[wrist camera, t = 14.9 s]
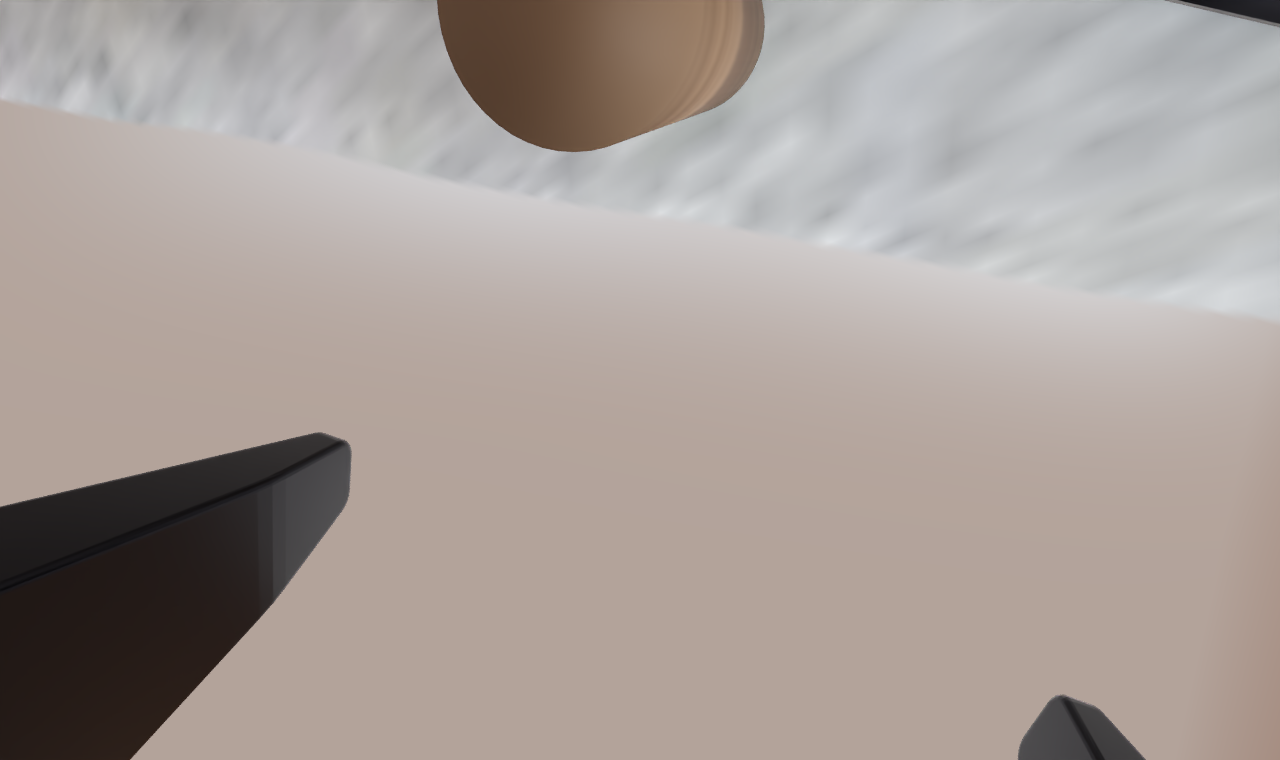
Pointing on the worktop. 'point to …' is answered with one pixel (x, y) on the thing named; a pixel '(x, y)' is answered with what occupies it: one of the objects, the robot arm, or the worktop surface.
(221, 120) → the worktop surface
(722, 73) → the walnut cylinder
